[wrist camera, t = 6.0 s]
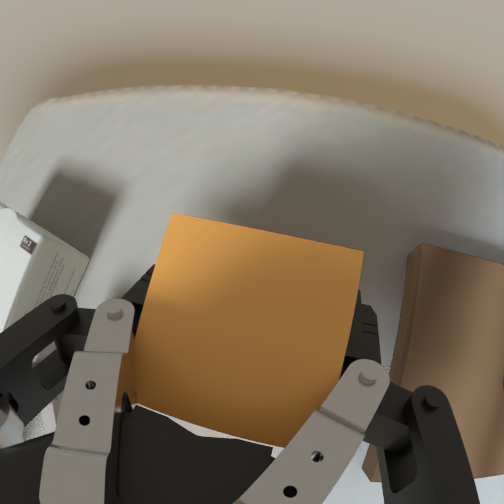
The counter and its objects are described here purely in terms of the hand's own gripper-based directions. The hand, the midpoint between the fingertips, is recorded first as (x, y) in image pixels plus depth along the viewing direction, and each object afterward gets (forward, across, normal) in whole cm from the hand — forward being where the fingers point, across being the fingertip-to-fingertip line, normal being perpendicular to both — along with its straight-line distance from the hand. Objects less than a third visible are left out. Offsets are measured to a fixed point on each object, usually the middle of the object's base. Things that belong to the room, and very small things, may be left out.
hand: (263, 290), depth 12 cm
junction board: (+2, -15, +4) cm, 16 cm away
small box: (+1, +16, +6) cm, 17 cm away
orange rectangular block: (+2, 0, +4) cm, 5 cm away
